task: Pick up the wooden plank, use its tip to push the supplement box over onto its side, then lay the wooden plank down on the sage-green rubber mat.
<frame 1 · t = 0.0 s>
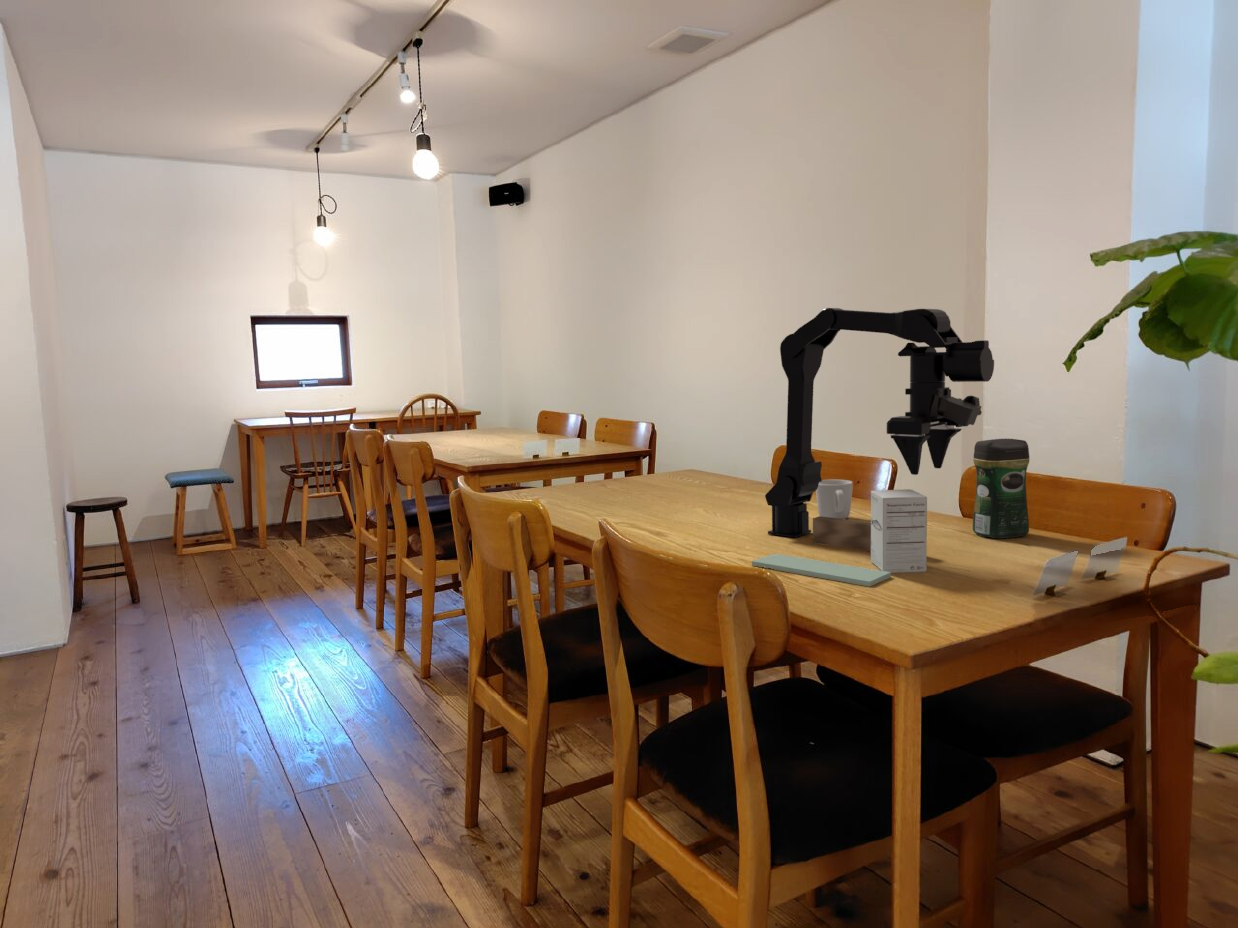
hand: (926, 471, 147), 15 cm above the table, fingers open, 9 cm apart
supplement box: (897, 568, 140), on the table
wooden plank: (864, 549, 154), on the table
coffee jar: (999, 535, 161), on the table
tool mat: (818, 571, 139), on the table
cup: (835, 520, 181), on the table
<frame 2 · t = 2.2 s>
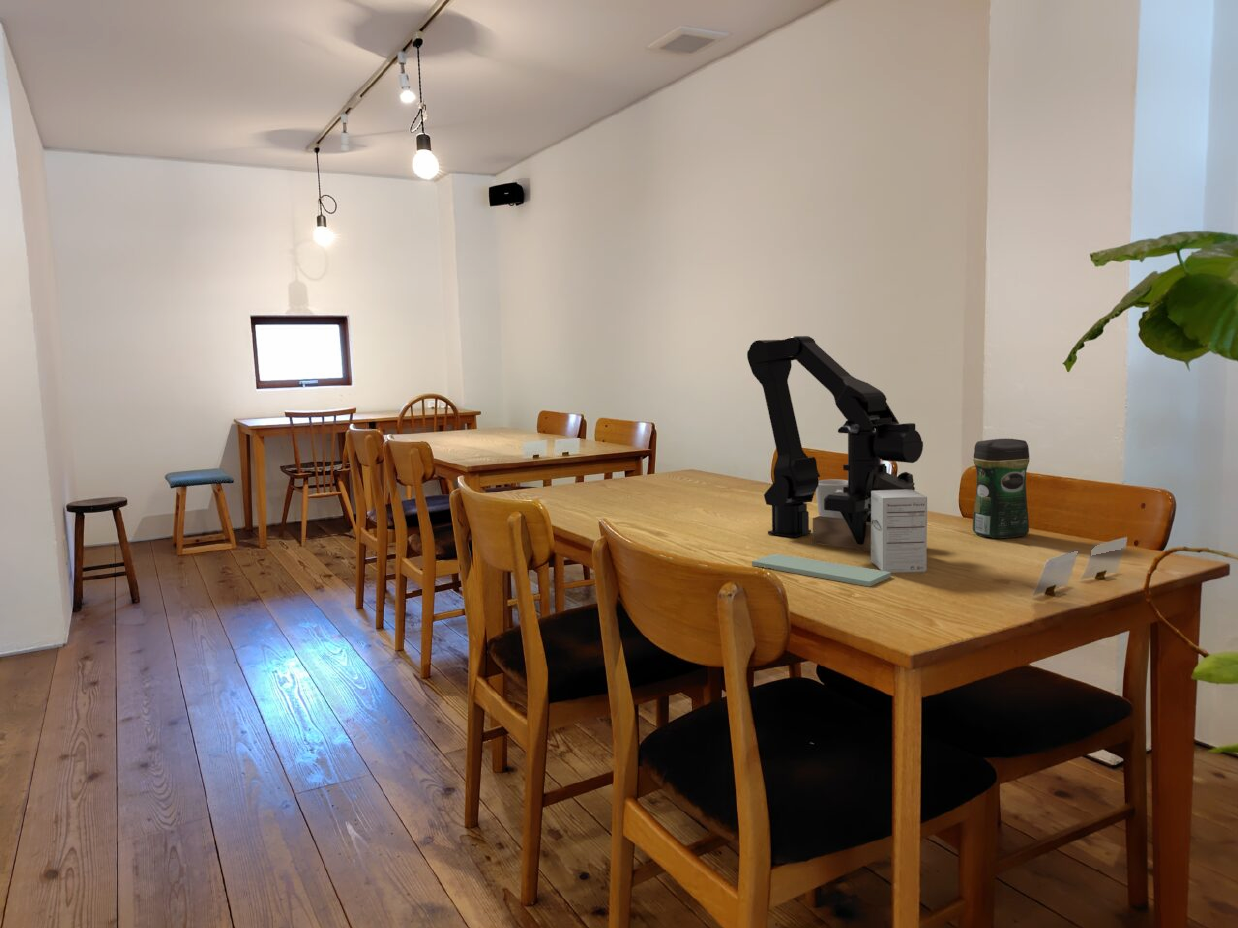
hand: (864, 542, 154), 1 cm above the table, fingers closed on wooden plank, 2 cm apart
wooden plank: (864, 549, 154), on the table, touching gripper
everything else where it was.
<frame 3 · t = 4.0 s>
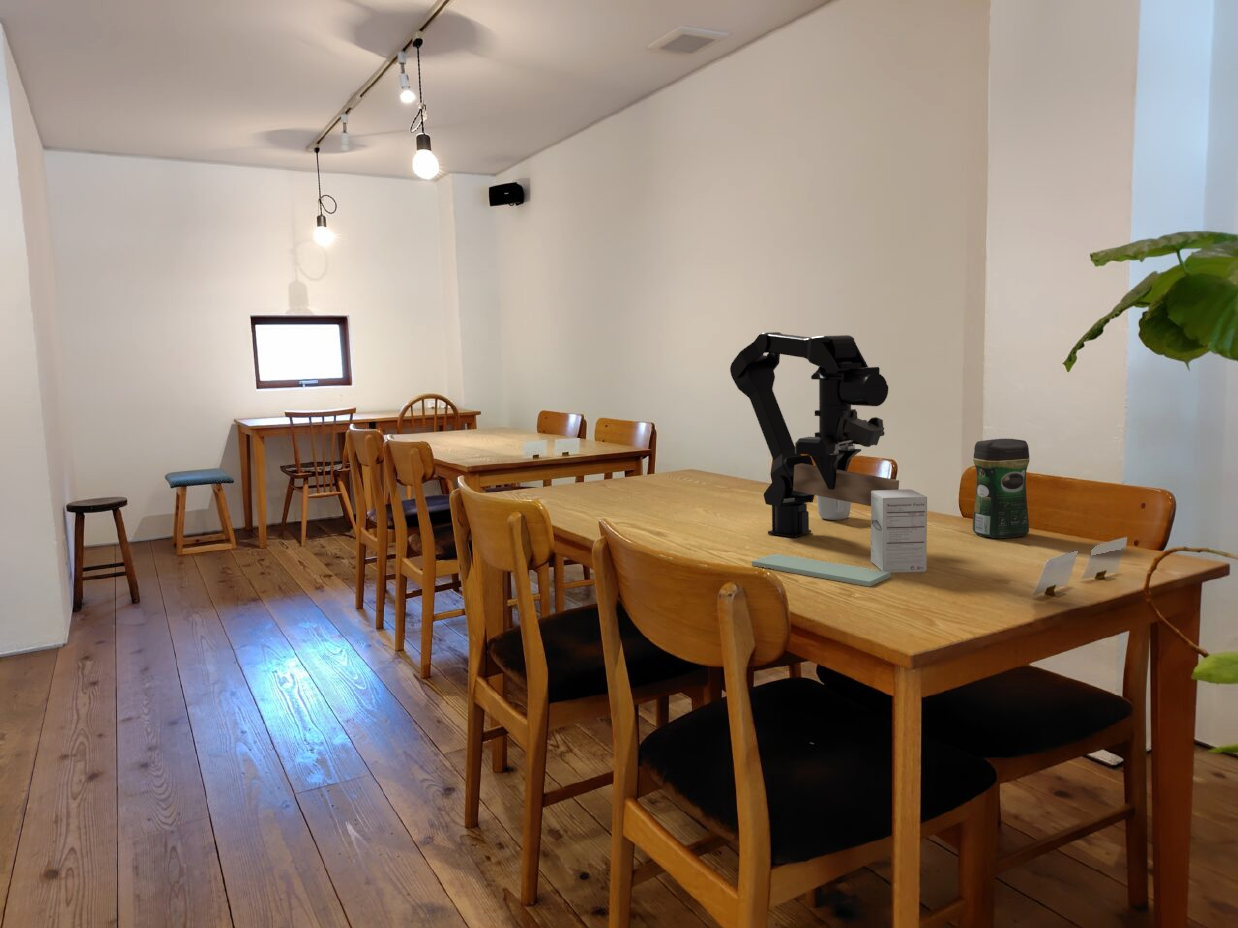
hand: (835, 488, 156), 11 cm above the table, fingers closed on wooden plank, 3 cm apart
wooden plank: (843, 498, 155), point 9 cm above the table, tilted 5°, touching arm, gripper
everything else where it was.
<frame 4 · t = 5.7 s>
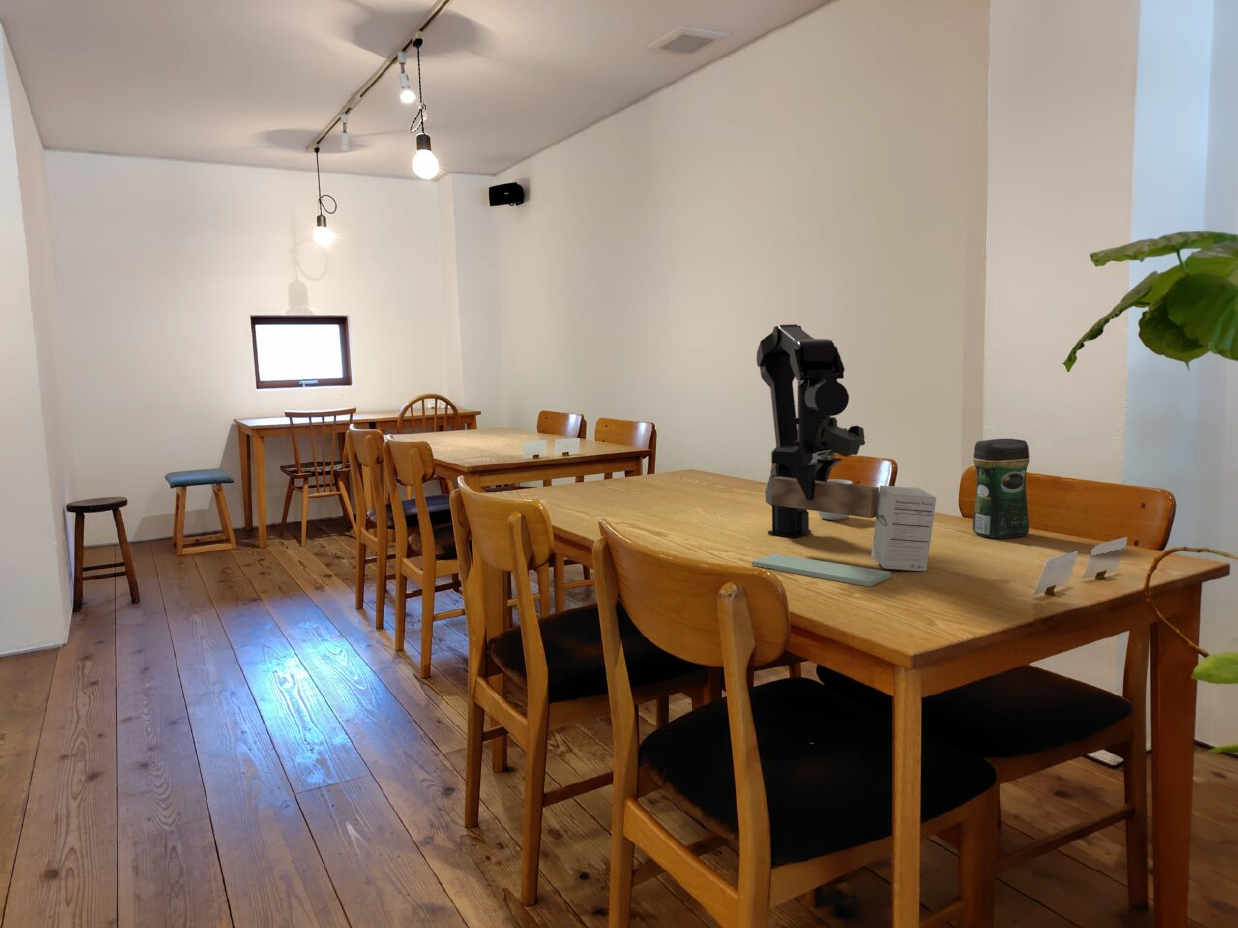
hand: (814, 499, 150), 10 cm above the table, fingers closed on wooden plank, 2 cm apart
supplement box: (898, 565, 140), on the table, touching wooden plank
wooden plank: (822, 510, 149), point 8 cm above the table, touching gripper, supplement box
everything else where it was.
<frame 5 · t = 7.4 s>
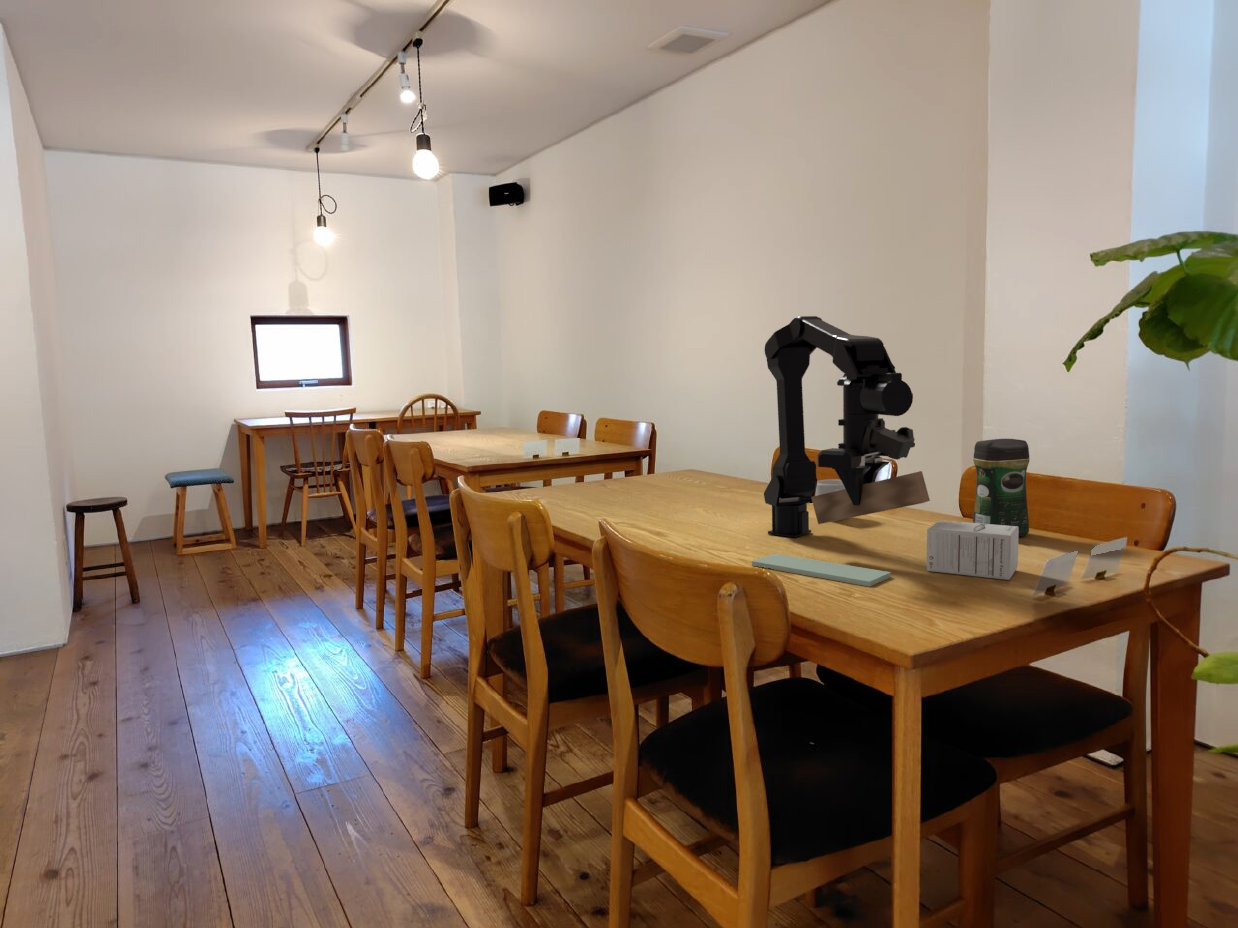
hand: (860, 504, 143), 10 cm above the table, fingers closed on wooden plank, 2 cm apart
supplement box: (930, 544, 139), point 4 cm above the table
wooden plank: (871, 513, 142), point 9 cm above the table, tilted 17°, touching gripper
everything else where it was.
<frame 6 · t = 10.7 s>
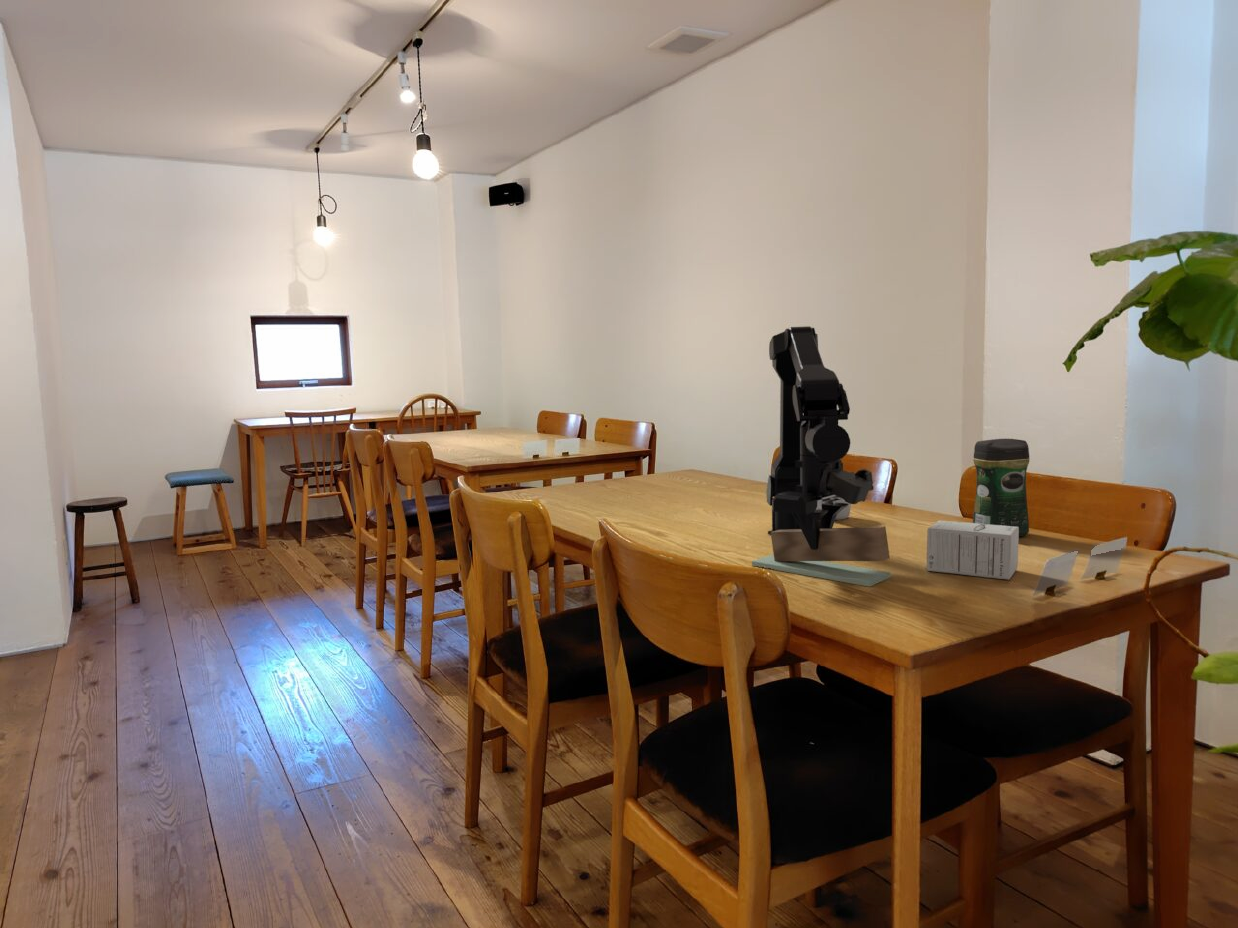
hand: (818, 547, 139), 4 cm above the table, fingers closed on wooden plank, 2 cm apart
wooden plank: (829, 559, 137), point 2 cm above the table, tilted 8°, touching gripper
everything else where it was.
when the fingers open (3 cm above the table, at t = 11.2 s): wooden plank stays where it is, resting on tool mat.
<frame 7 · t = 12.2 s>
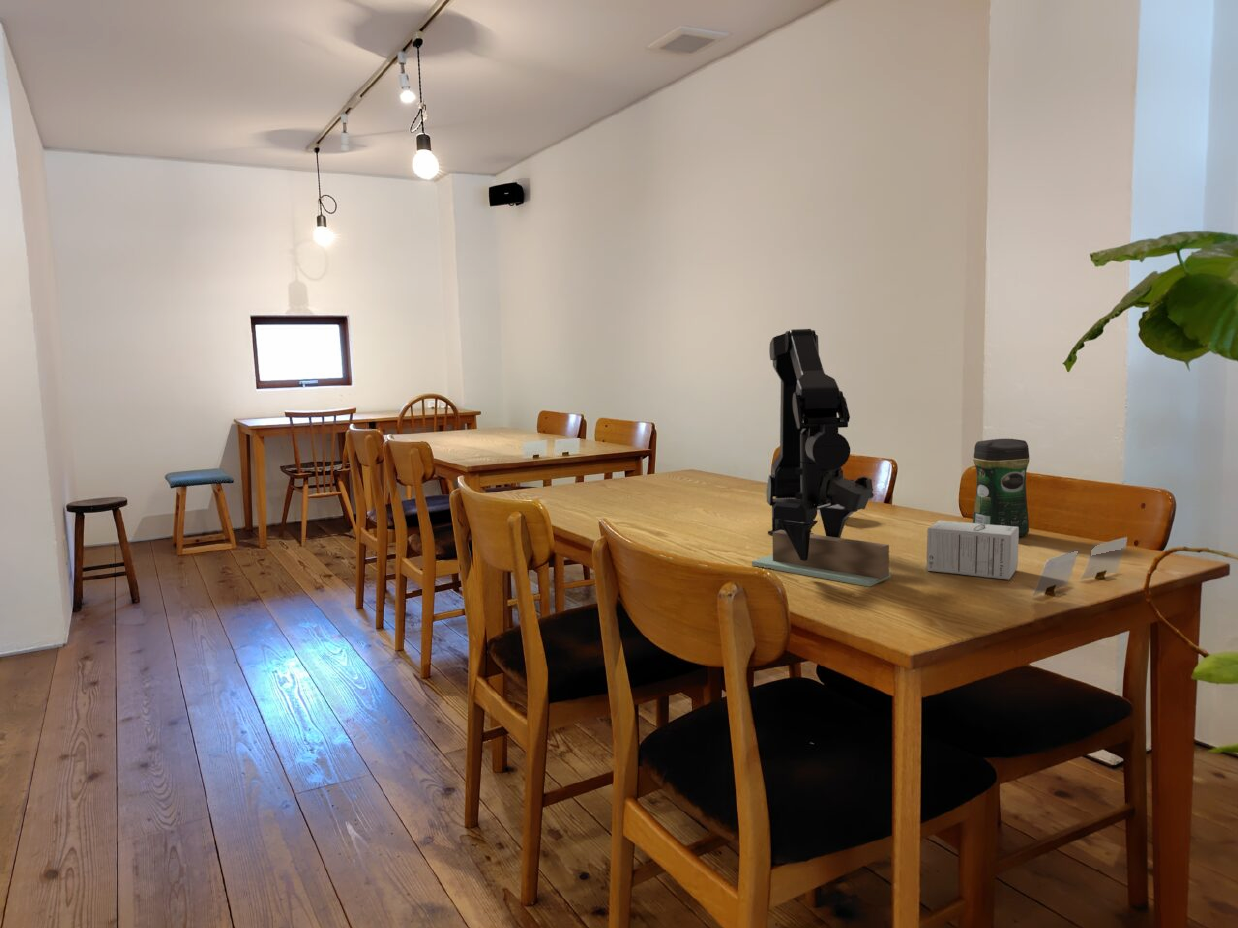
hand: (818, 554, 139), 3 cm above the table, fingers open, 9 cm apart
wooden plank: (828, 567, 138), point 1 cm above the table, touching tool mat
everything else where it was.
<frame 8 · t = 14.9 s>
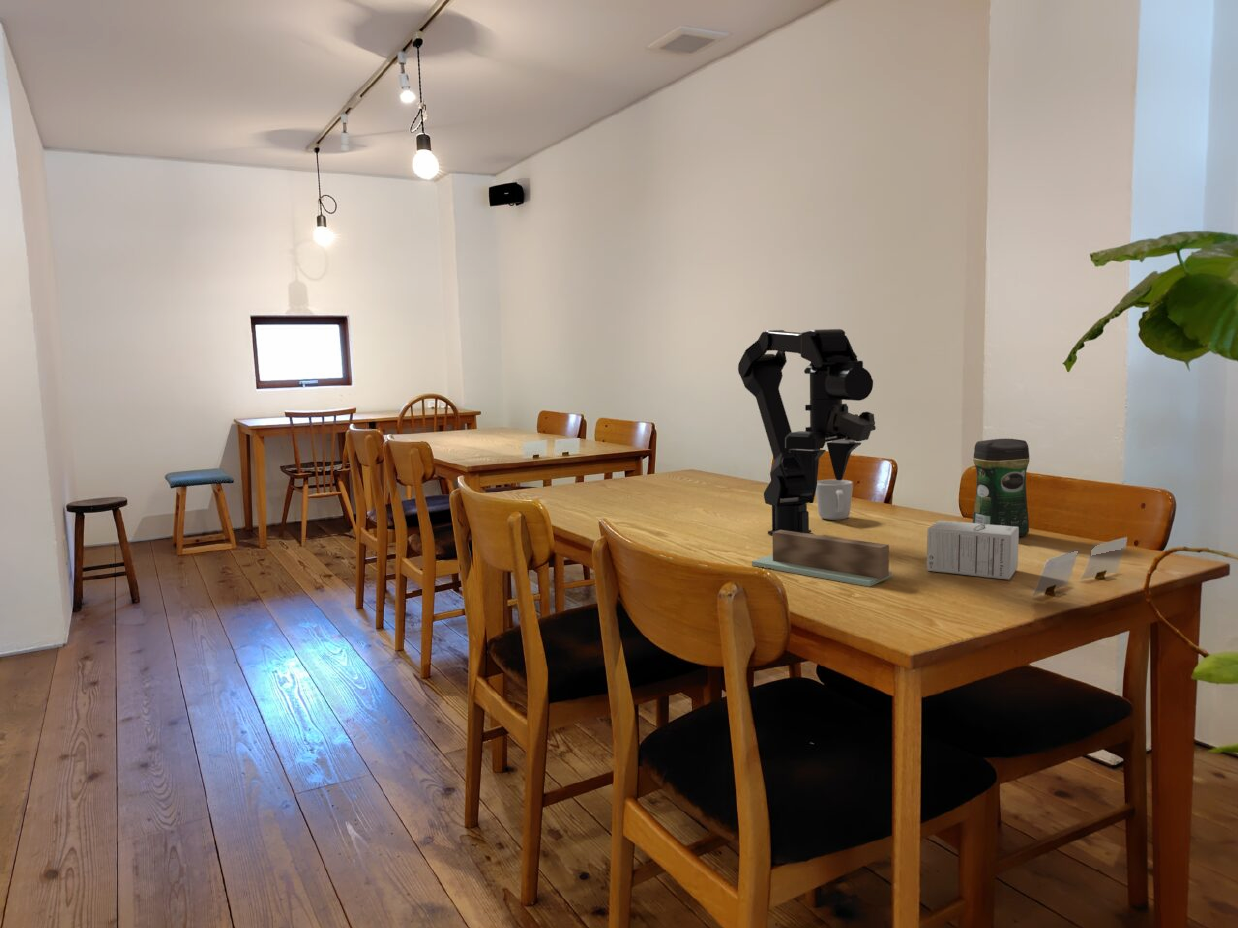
hand: (826, 483, 154), 12 cm above the table, fingers open, 9 cm apart
nothing on the table moved.
at the end: supplement box tilted 90°; wooden plank 1.7 cm off-centre on the tool mat, point 0.8 cm above the tool mat's base; the gripper is holding nothing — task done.
